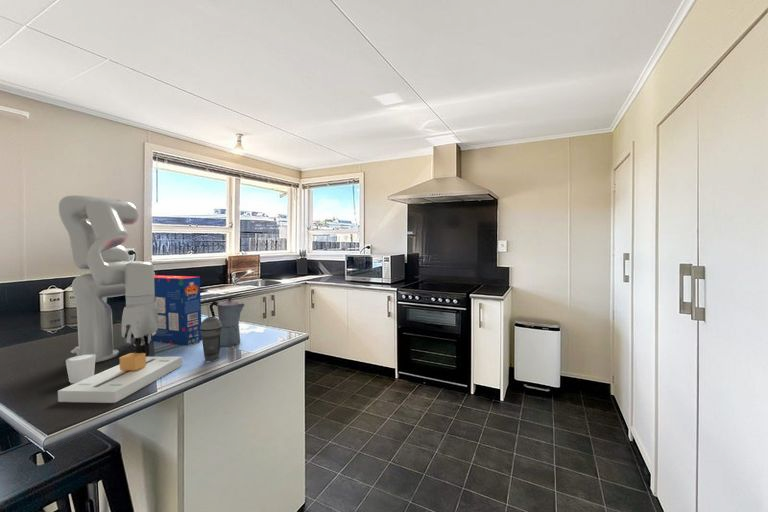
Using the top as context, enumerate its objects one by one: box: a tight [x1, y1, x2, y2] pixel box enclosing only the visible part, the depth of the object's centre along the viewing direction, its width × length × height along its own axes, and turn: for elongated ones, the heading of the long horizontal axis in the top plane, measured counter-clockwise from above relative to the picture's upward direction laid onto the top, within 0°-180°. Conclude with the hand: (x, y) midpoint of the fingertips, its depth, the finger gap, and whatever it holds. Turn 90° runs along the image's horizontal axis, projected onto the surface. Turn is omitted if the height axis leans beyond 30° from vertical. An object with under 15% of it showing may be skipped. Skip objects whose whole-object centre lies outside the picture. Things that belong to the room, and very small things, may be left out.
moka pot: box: [209, 296, 246, 347], centre depth 134 cm, size 10×15×20 cm, turn 89°
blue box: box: [151, 274, 202, 347], centre depth 140 cm, size 28×8×28 cm, turn 71°
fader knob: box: [118, 352, 146, 370], centre depth 100 cm, size 5×4×4 cm
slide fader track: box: [57, 356, 183, 404], centre depth 98 cm, size 16×26×3 cm, turn 177°
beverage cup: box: [200, 304, 222, 362], centre depth 116 cm, size 7×7×20 cm
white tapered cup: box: [65, 354, 96, 384], centre depth 100 cm, size 7×7×7 cm
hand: (142, 356), depth 104 cm, fingers closed
